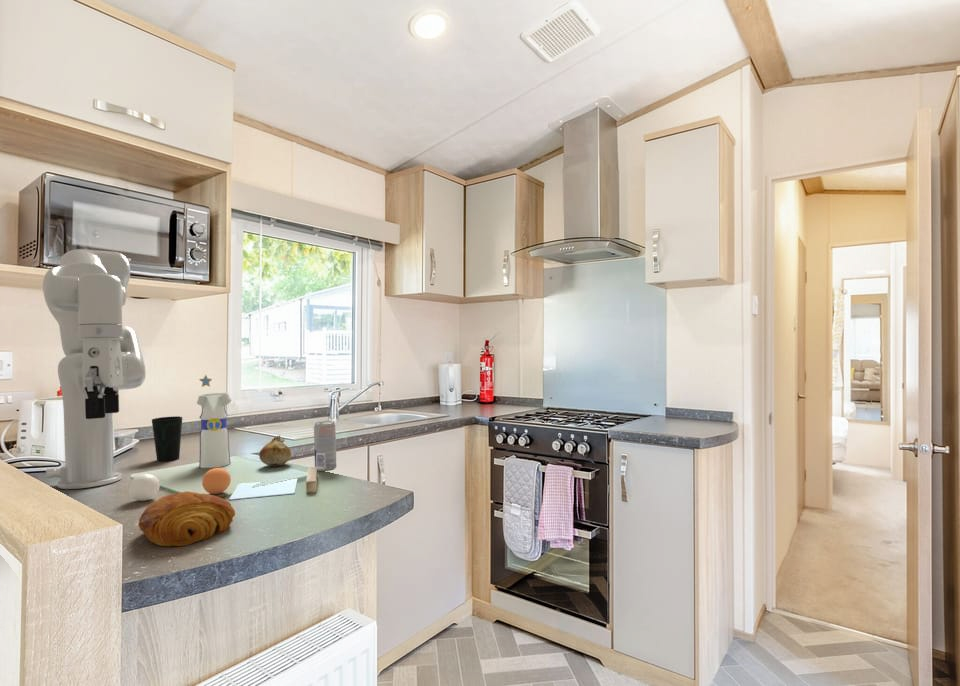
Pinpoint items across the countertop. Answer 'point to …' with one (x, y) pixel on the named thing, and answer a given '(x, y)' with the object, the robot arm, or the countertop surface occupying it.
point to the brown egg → (216, 481)
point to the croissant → (185, 518)
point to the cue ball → (144, 487)
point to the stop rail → (311, 480)
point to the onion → (275, 452)
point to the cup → (167, 437)
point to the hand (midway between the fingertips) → (103, 415)
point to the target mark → (264, 489)
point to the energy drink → (325, 445)
